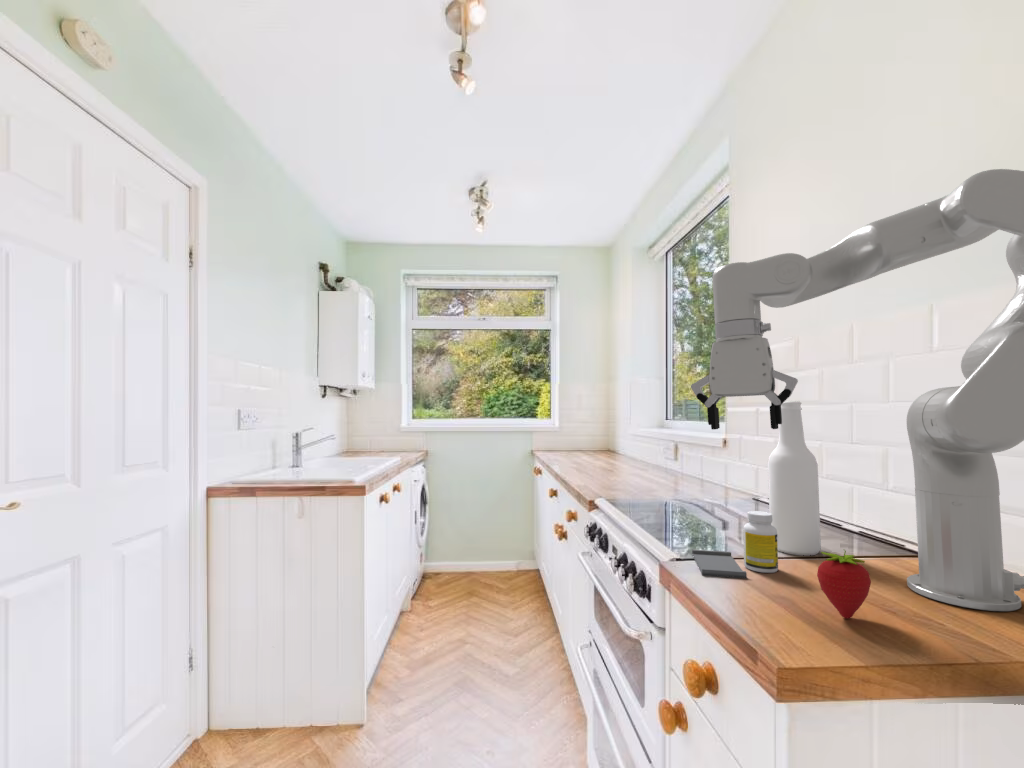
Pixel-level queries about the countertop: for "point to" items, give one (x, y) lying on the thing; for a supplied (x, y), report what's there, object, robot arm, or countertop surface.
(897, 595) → the countertop surface
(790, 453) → the alcohol
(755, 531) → the supplement bottle
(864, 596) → the strawberry
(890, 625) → the countertop surface
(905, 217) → the robot arm
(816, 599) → the countertop surface
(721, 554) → the tray
